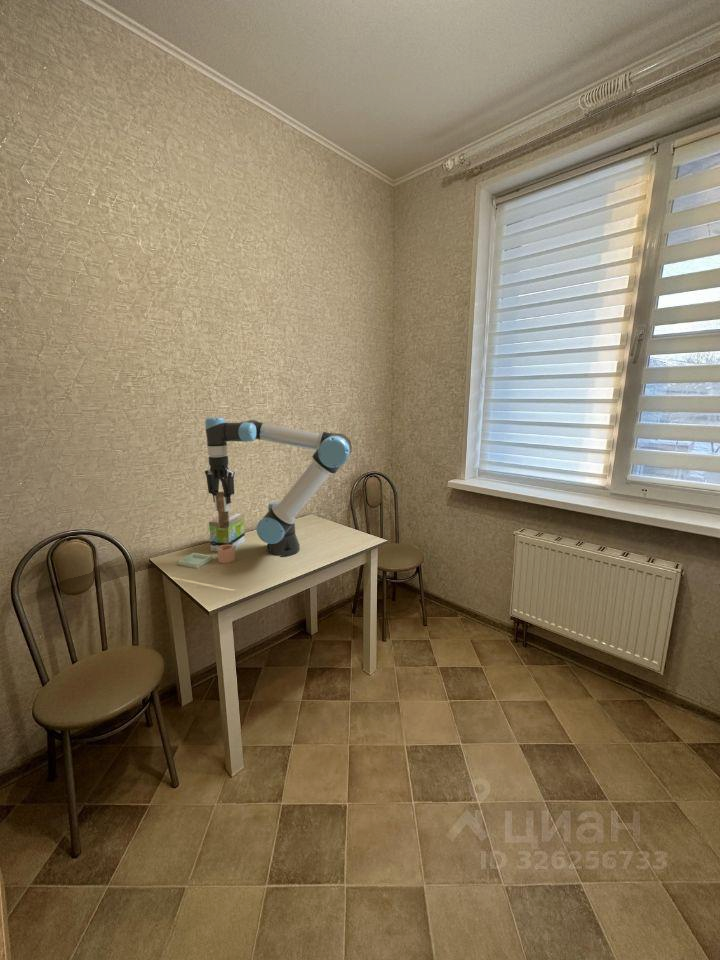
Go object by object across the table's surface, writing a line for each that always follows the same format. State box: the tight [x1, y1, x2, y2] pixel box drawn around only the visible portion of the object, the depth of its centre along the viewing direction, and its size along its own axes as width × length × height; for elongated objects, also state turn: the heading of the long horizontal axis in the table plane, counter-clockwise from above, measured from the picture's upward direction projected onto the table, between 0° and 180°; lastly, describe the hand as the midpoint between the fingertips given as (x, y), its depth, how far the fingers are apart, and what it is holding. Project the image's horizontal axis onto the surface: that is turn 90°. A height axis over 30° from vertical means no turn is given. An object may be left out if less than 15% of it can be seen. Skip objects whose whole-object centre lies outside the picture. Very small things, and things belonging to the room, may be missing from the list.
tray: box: [177, 552, 213, 569], centre depth 164 cm, size 10×9×2 cm
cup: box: [216, 544, 236, 564], centre depth 166 cm, size 7×7×6 cm
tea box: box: [208, 512, 246, 552], centre depth 181 cm, size 15×10×15 cm, turn 168°
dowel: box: [216, 491, 229, 528], centre depth 161 cm, size 4×4×15 cm
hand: (222, 510), depth 161 cm, fingers closed on dowel, 4 cm apart
